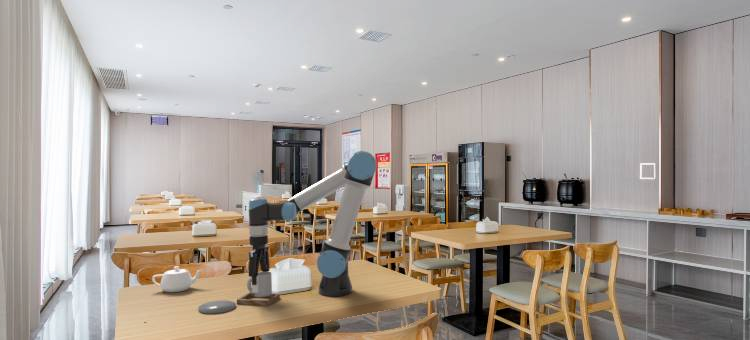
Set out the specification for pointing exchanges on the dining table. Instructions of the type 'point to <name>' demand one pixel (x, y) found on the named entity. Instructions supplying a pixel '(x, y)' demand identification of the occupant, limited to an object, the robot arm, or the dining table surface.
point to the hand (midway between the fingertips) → (259, 289)
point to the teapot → (176, 280)
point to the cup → (262, 284)
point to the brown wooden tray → (257, 302)
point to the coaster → (216, 307)
